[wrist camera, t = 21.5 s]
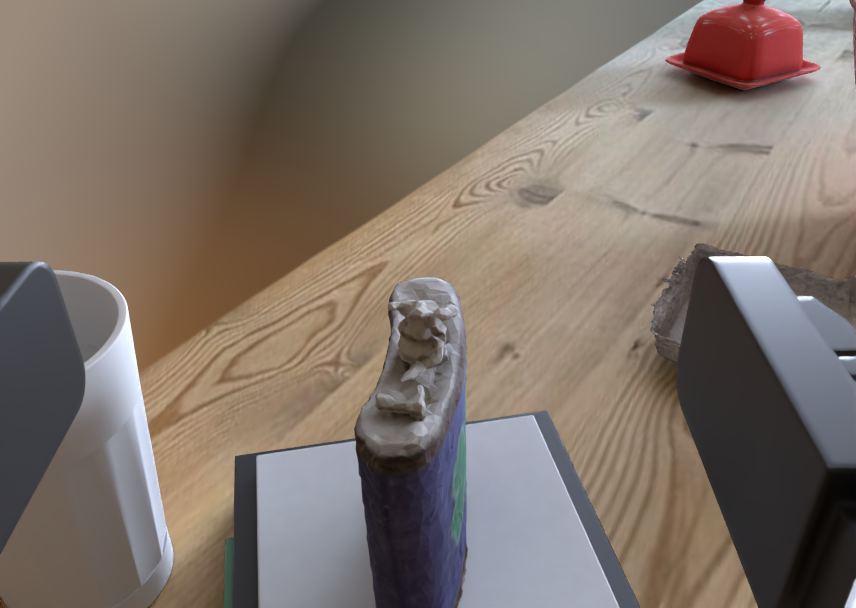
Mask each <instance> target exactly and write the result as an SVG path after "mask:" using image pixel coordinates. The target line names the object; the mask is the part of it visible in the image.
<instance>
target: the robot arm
mask: <svg viewBox="0 0 856 608" xmlns="http://www.w3.org/2000/svg"><path fill="white" fill-rule="evenodd" d="M676 376H677V391H678V397H679V401H680V405H681V408H682V411H683V414H684V416H685V419H686V421H687V424H688V426H689V429H690V432H691V434H692V437H693V439H694V442H695V445H696V447H697V450H698V452H699V455H700V458H701V460H702V463H703V465H704V468H705V470H706V473H707V476H708V478H709V481H710V483H711V486H712V489H713V491H714V494H715V496H716V499H717V502H718V504H719V507H720V509H721V512H722V514H723V517H724V520H725V522H726V525H727V527H728V530H729V533H730V535H731V538H732V540H733V543H734V546H735V548H736V551H737V553H738V556H739V559H740V561H741V564H742V566H743V569H744V571H745V574H746V577H747V579H748V582H749V584H750V587H751V590H752V592H753V595H754V597H755V600H756V603H757V605H758V608H856V331H855V330H854V328H853V327H852V326H851V324H850V323H849V322H848V321H847V320H846V319H844V318H843V317H841V316H840V315H838V314H837V313H836V312H834V311H833V310H831V309H830V308H828V307H827V306H825V305H824V304H822V303H821V302H820V301H818V300H817V299H815V298H814V297H812V296H798V297H797V296H796V295H795V293H794V292H793V290H792V289H791V288H790V286H789V285H788V283H787V282H786V280H785V279H784V277H783V276H782V274H781V273H780V271H779V270H778V269H777V267H776V266H775V264H774V263H773V261H772V260H771V259H770V258H768V257H765V256H759V257H704V258H702V259H701V260H700V262H699V263H698V266H697V268H696V271H695V275H694V279H693V284H692V289H691V294H690V299H689V304H688V309H687V314H686V319H685V324H684V329H683V334H682V339H681V344H680V348H679V353H678V359H677V372H676ZM84 392H85V367H84V362H83V358H82V355H81V352H80V349H79V345H78V342H77V339H76V336H75V333H74V330H73V327H72V324H71V321H70V317H69V314H68V311H67V308H66V305H65V302H64V299H63V296H62V293H61V289H60V286H59V283H58V280H57V278H56V275H55V273H54V271H53V270H52V269H51V268H50V266H49V265H48V264H46V263H44V262H0V554H1V552H2V551H3V549H4V547H5V545H6V543H7V541H8V540H9V538H10V536H11V534H12V532H13V530H14V529H15V527H16V525H17V523H18V521H19V519H20V518H21V516H22V514H23V512H24V510H25V508H26V507H27V505H28V503H29V501H30V499H31V497H32V496H33V494H34V492H35V490H36V488H37V486H38V485H39V483H40V481H41V479H42V477H43V475H44V474H45V472H46V470H47V468H48V466H49V465H50V463H51V461H52V459H53V457H54V455H55V454H56V452H57V450H58V448H59V446H60V444H61V443H62V441H63V439H64V437H65V435H66V433H67V432H68V430H69V428H70V426H71V424H72V422H73V421H74V419H75V417H76V415H77V413H78V411H79V409H80V407H81V404H82V401H83V397H84Z"/></svg>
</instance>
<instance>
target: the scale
mask: <svg viewBox="0 0 856 608" xmlns="http://www.w3.org/2000/svg"><path fill="white" fill-rule="evenodd" d="M466 481H467V522H466V534H467V535H466V543H467V548H468V552H467V554H468V555H467V559H466V569H467V570H466V574H465V576H464V577H465V581H464V583H463V587H462V590H463V592H462V593H463V594H462V597H461V598H460V602H459V605H458V608H640V606H639V604H638V601H637V599H636V597H635V595H634V593H633V591H632V589H631V587H630V585H629V582H628V580H627V578H626V576H625V574H624V572H623V570H622V568H621V565H620V563H619V561H618V559H617V557H616V555H615V553H614V551H613V549H612V546H611V544H610V542H609V540H608V538H607V536H606V534H605V532H604V529H603V527H602V525H601V523H600V521H599V519H598V517H597V515H596V513H595V510H594V508H593V506H592V504H591V502H590V500H589V498H588V496H587V493H586V491H585V489H584V487H583V485H582V483H581V481H580V479H579V477H578V474H577V472H576V470H575V468H574V466H573V464H572V462H571V460H570V457H569V455H568V453H567V451H566V449H565V447H564V445H563V443H562V441H561V438H560V436H559V434H558V432H557V430H556V428H555V426H554V424H553V422H552V419H551V417H550V415H549V413H548V411H540V412H533V413H527V414H520V415H513V416H506V417H499V418H492V419H486V420H479V421H472V422H466ZM366 536H367V529H366V521H365V515H364V504H363V502H362V489H361V477H360V476H359V469H358V459H357V454H356V439H349V440H342V441H335V442H328V443H321V444H314V445H308V446H301V447H294V448H287V449H280V450H273V451H266V452H260V453H253V454H246V455H239V456H235V484H234V538H228V539H226V541H225V578H224V608H376V605H375V596H374V591H373V576H372V571H371V567H370V557H369V550H368V543H367V538H366Z"/></svg>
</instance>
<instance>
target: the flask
mask: <svg viewBox="0 0 856 608" xmlns="http://www.w3.org/2000/svg"><path fill="white" fill-rule="evenodd" d="M388 309H389V311H388V315H389V319H390V324H391V336H390V337H389V346H388V350H387V355H386V359H385V362H384V365H383V371H382V374H381V376H380V378H379V381H378V383H377V386H376V388H375V390H374V392H373V393H372V394H371V395H370V398H369V400H368V402H366V403H365V404H364V406H363V407H362V408H361V412H360V415H359V417H358V419H357V422H356V425H355V428H354V430H355V439H356V454H357V459H358V469H359V476H360V477H361V489H362V502H363V504H364V515H365V521H366V529H367V536H366V538H367V543H368V550H369V557H370V567H371V571H372V576H373V591H374V596H375V605H376V608H458V605H459V602H460V598H461V597H462V594H463V593H462V592H463V590H462V587H463V583H464V581H465V577H464V576H465V574H466V570H467V569H466V559H467V555H468V554H467V552H468V548H467V543H466V535H467V534H466V522H467V481H466V419H465V414H466V400H465V387H466V363H467V360H466V335H465V326H464V319H463V313H462V308H461V303H460V298H459V296H458V295H457V294H456V291H455V289H454V288H453V286H452V285H451V284H450V283H448V282H446V281H443V280H440V279H438V278H429V277H425V278H418V279H410V280H408V281H406V282H401V283H398V284H397V285H396V286H395V288H394V290H393V292H392V295H391V297H390V299H389V305H388Z"/></svg>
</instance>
